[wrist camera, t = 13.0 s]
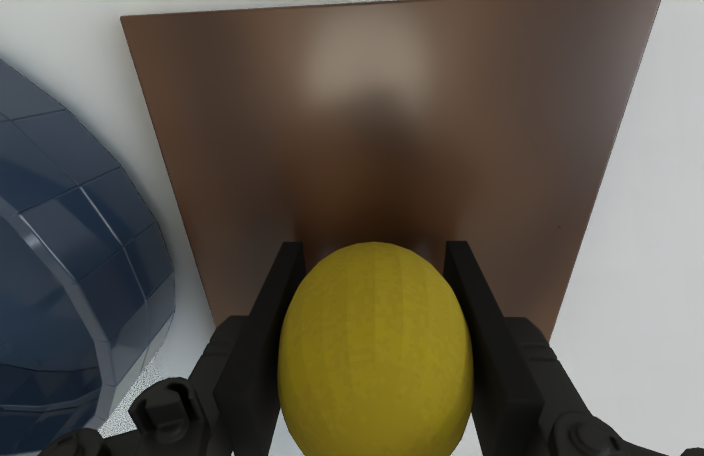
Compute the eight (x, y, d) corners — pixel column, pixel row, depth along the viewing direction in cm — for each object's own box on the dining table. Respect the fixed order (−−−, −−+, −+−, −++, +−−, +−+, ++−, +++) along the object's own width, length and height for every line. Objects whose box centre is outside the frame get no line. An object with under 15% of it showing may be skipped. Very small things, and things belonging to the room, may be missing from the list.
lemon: (308, 196, 12) (221, 392, 5) (458, 213, 12) (573, 434, 5) (303, 310, 15) (240, 544, 8) (426, 324, 15) (475, 571, 8)
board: (244, 370, 20) (235, 392, 19) (146, 19, 12) (118, 16, 10) (519, 377, 19) (530, 402, 18) (630, -8, 11) (667, -16, 9)
